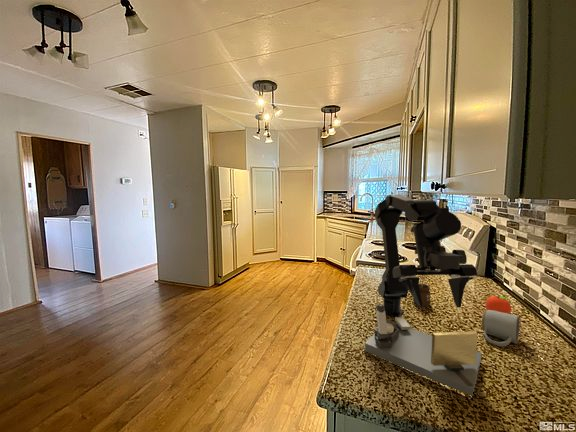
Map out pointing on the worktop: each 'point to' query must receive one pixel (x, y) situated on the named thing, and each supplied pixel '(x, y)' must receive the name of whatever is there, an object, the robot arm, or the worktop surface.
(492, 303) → the red tomato
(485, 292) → the worktop surface
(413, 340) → the panel
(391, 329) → the push button
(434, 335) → the brass paddle
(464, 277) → the robot arm
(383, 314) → the steel lever
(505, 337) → the ceramic mug
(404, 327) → the block
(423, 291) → the utensil holder
